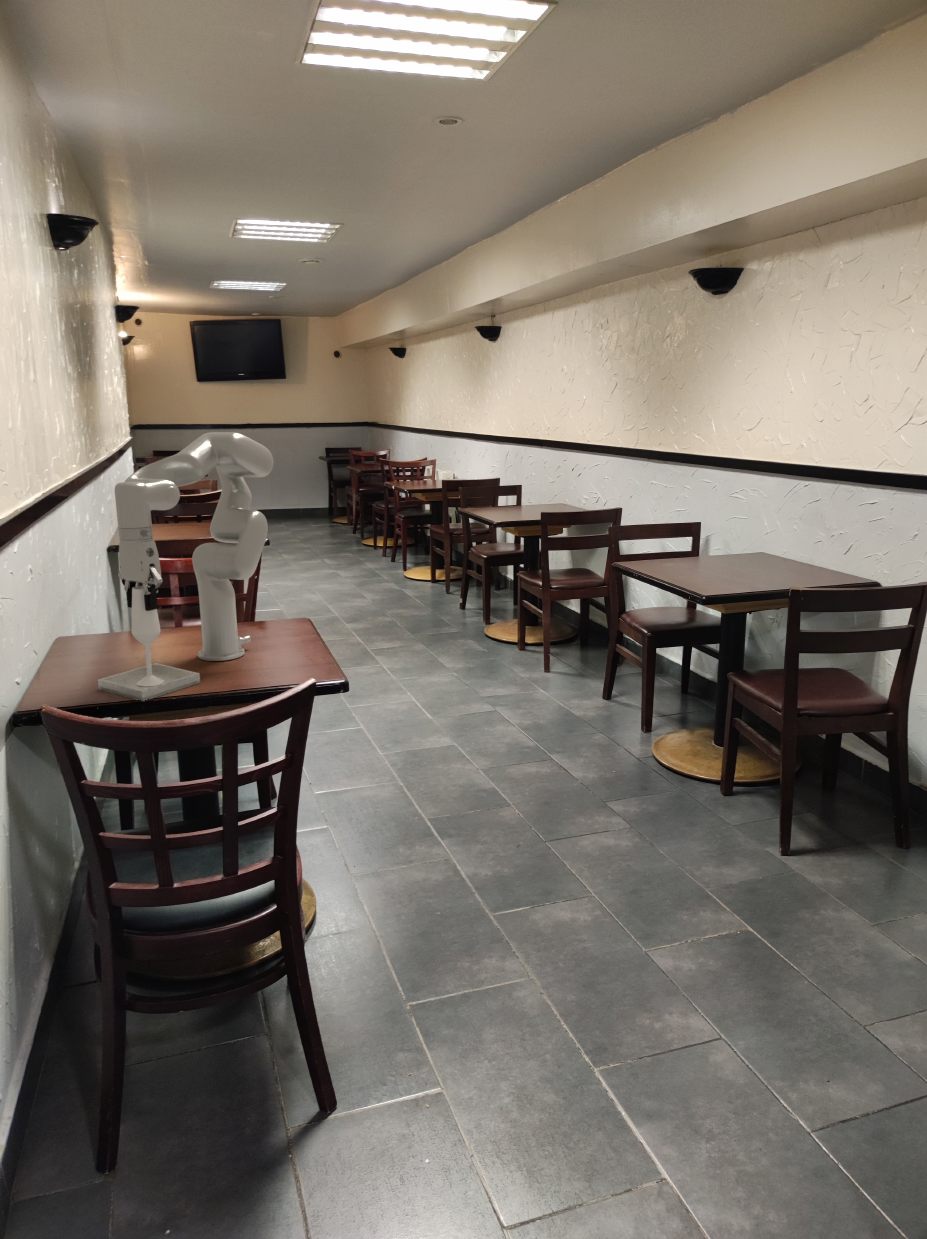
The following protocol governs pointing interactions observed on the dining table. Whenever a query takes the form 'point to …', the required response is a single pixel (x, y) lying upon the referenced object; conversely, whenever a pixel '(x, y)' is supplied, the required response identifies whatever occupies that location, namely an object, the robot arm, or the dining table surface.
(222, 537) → the robot arm
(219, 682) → the dining table surface
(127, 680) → the serving tray
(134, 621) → the champagne flute
